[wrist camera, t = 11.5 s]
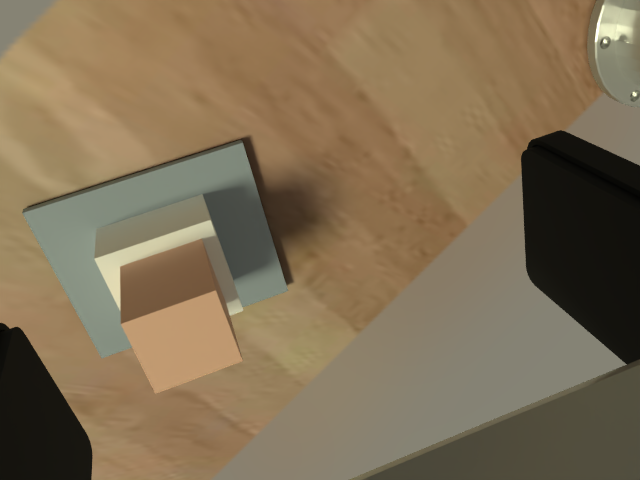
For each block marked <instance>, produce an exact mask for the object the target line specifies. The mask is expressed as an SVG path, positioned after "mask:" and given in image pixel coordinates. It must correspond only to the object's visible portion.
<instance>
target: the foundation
mask: <svg viewBox="0 0 640 480" xmlns="http://www.w3.org/2000/svg"><path fill="white" fill-rule="evenodd" d="M22 213H23V215H24V217H25V219H26V221H27V223H28V224H29V226H30V228H31V230H32V232H33V234H34V235H35V237H36V239H37V241H38V243H39V245H40V246H41V248H42V250H43V252H44V254H45V256H46V257H47V259H48V261H49V263H50V265H51V266H52V268H53V270H54V272H55V274H56V276H57V277H58V279H59V281H60V283H61V285H62V287H63V288H64V290H65V292H66V294H67V296H68V298H69V299H70V301H71V303H72V305H73V307H74V309H75V310H76V312H77V314H78V316H79V318H80V320H81V321H82V323H83V325H84V327H85V329H86V330H87V332H88V334H89V336H90V338H91V340H92V341H93V343H94V345H95V347H96V349H97V351H98V352H99V354H100V356H101V358H104V357H107V356H110V355H112V354H115V353H118V352H121V351H123V350H126V349H129V348H132V346H131V344H130V342H129V340H128V338H127V336H126V334H125V332H124V330H123V328H122V326H121V314H120V266H123V265H126V264H129V263H132V262H135V261H138V260H141V259H144V258H147V257H149V256H152V255H155V254H158V253H161V252H164V251H167V250H170V249H173V248H176V247H179V246H182V245H185V244H188V243H191V242H194V241H196V240H199V239H202V241H203V243H204V246H205V249H206V251H207V254H208V257H209V259H210V262H211V265H212V267H213V270H214V273H215V275H216V278H217V280H218V283H219V286H220V288H221V291H222V294H223V296H224V299H225V302H226V305H227V308H228V312H229V315H233V314H235V313H238V312H241V311H243V308H242V307H245V306H248V305H251V304H253V303H256V302H259V301H262V300H264V299H267V298H270V297H273V296H275V295H278V294H281V293H284V292H286V291H288V289H287V286H286V282H285V279H284V276H283V273H282V269H281V266H280V263H279V259H278V256H277V253H276V250H275V246H274V243H273V240H272V237H271V233H270V230H269V227H268V223H267V220H266V217H265V214H264V210H263V207H262V204H261V200H260V197H259V194H258V191H257V187H256V184H255V181H254V178H253V174H252V171H251V168H250V164H249V161H248V158H247V155H246V151H245V148H244V145H243V142H242V140H239V141H235V142H232V143H229V144H226V145H223V146H220V147H217V148H214V149H210V150H207V151H204V152H201V153H198V154H195V155H192V156H188V157H185V158H182V159H179V160H176V161H173V162H170V163H167V164H163V165H160V166H157V167H154V168H151V169H148V170H145V171H141V172H138V173H135V174H132V175H129V176H126V177H123V178H119V179H116V180H113V181H110V182H107V183H104V184H101V185H98V186H94V187H91V188H88V189H85V190H82V191H79V192H76V193H72V194H69V195H66V196H63V197H60V198H57V199H54V200H51V201H47V202H44V203H41V204H38V205H35V206H32V207H29V208H25V209H23V212H22Z"/></svg>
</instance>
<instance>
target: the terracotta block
mask: <svg viewBox="0 0 640 480" xmlns="http://www.w3.org/2000/svg"><path fill="white" fill-rule="evenodd" d="M120 314H121V326H122V328H123V330H124V332H125V334H126V336H127V338H128V340H129V342H130V344H131V346H132V348H133V350H134V352H135V354H136V356H137V358H138V360H139V362H140V364H141V366H142V368H143V370H144V371H145V373H146V375H147V377H148V379H149V381H150V383H151V385H152V387H153V389H154V391H155V393H159V392H162V391H164V390H167V389H170V388H172V387H175V386H178V385H180V384H183V383H186V382H188V381H191V380H194V379H196V378H199V377H202V376H204V375H207V374H210V373H212V372H215V371H218V370H220V369H223V368H226V367H228V366H231V365H234V364H236V363H239V362H242V361H243V360H242V356H241V353H240V350H239V346H238V343H237V339H236V336H235V332H234V329H233V325H232V322H231V318H230V315H229V312H228V308H227V305H226V302H225V299H224V296H223V294H222V291H221V288H220V286H219V283H218V280H217V278H216V275H215V273H214V270H213V267H212V265H211V262H210V259H209V257H208V254H207V251H206V249H205V246H204V243H203V241H202V239H199V240H196V241H194V242H191V243H188V244H185V245H182V246H179V247H176V248H173V249H170V250H167V251H164V252H161V253H158V254H155V255H152V256H149V257H147V258H144V259H141V260H138V261H135V262H132V263H129V264H126V265H123V266H120Z"/></svg>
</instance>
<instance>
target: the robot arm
mask: <svg viewBox="0 0 640 480" xmlns="http://www.w3.org/2000/svg"><path fill="white" fill-rule="evenodd" d="M587 51H588V60H589V65H590V68H591V71H592V75H593V77H594V79H595V81H596V82H597V84H598V86H599V87H600V89H601V90H602V91H603V92H604V93H605V94H606V95H608V96H609V97H610V98H612V99H614V100H616V101H618V102H620V103H622V104H625V105H628V106H631V107H640V0H596V3H595V6H594V8H593V11H592V15H591V20H590V24H589V29H588V42H587ZM521 166H522V187H523V209H524V231H525V252H526V269H527V273H528V276H529V278H530V280H531V281H532V283H534V285H535V286H536V287H537V288H539V289H540V290H541V291H542V292H543V293H544V294H546V295H547V296H548V297H549V298H550V299H551V300H553V301H554V302H555V303H556V304H557V305H559V307H561V308H562V309H563V310H565V312H566V313H568V314H569V315H570V316H571V317H572V318H574V319H575V320H576V321H577V322H578V323H579V324H581V325H582V326H583V327H584V328H585V329H586V330H587V331H589V332H590V333H591V334H592V335H593V336H594V337H596V338H597V339H598V340H599V341H600V342H601V343H602V344H604V345H605V346H606V347H607V348H608V349H609V350H611V351H612V352H613V353H614V354H615V355H617V356H618V357H619V358H620V359H621V360H622V361H623V362H625V363H626V364H627V365H625V366H622V367H620V368H617V369H615V370H613V371H610V372H608V373H606V374H603V375H601V376H598V377H596V378H593V379H591V380H588V381H586V382H583V383H581V384H579V385H576V386H574V387H571V388H569V389H566V390H564V391H562V392H559V393H557V394H554V395H552V396H549V397H547V398H544V399H542V400H539V401H537V402H535V403H533V404H530V405H527V406H525V407H522V408H520V409H518V410H515V411H513V412H510V413H508V414H506V415H503V416H501V417H498V418H496V419H494V420H491V421H489V422H486V423H484V424H482V425H479V426H477V427H475V428H472V429H470V430H467V431H465V432H462V433H460V434H458V435H455V436H453V437H450V438H448V439H446V440H443V441H441V442H438V443H436V444H433V445H431V446H429V447H426V448H424V449H421V450H419V451H417V452H414V453H412V454H410V455H407V456H405V457H403V458H400V459H398V460H395V461H393V462H390V463H388V464H386V465H383V466H381V467H378V468H376V469H374V470H371V471H369V472H366V473H364V474H362V475H359V476H357V477H354V478H352V479H350V480H640V166H639V165H637V164H635V163H633V162H631V161H628V160H626V159H624V158H622V157H619V156H617V155H615V154H613V153H611V152H609V151H607V150H604V149H602V148H600V147H598V146H596V145H594V144H591V143H589V142H587V141H585V140H583V139H580V138H578V137H576V136H574V135H572V134H570V133H567V132H565V131H561V130H560V131H556V132H553V133H551V134H548V135H545V136H542V137H539V138H536V139H533V140H531V141H530V142H529V144H528V147H527V150H525V151H524V152H523V153H522V156H521ZM91 474H92V448H91V444H90V440H89V438H88V436H87V434H86V432H85V430H84V429H83V427H82V426H81V424H80V422H79V421H78V419H77V417H76V416H75V414H74V413H73V411H72V409H71V408H70V406H69V405H68V403H67V401H66V400H65V398H64V396H63V395H62V393H61V392H60V390H59V388H58V387H57V385H56V384H55V382H54V380H53V379H52V377H51V375H50V374H49V372H48V371H47V369H46V367H45V366H44V364H43V363H42V361H41V359H40V358H39V356H38V355H37V353H36V351H35V350H34V348H33V346H32V345H31V343H30V342H29V340H28V338H27V337H26V335H25V334H24V332H23V331H22V330H21V329H20V328H19V327H14V328H11V329H9V327H7V326H6V325H5V324H3V323H0V480H91Z"/></svg>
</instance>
